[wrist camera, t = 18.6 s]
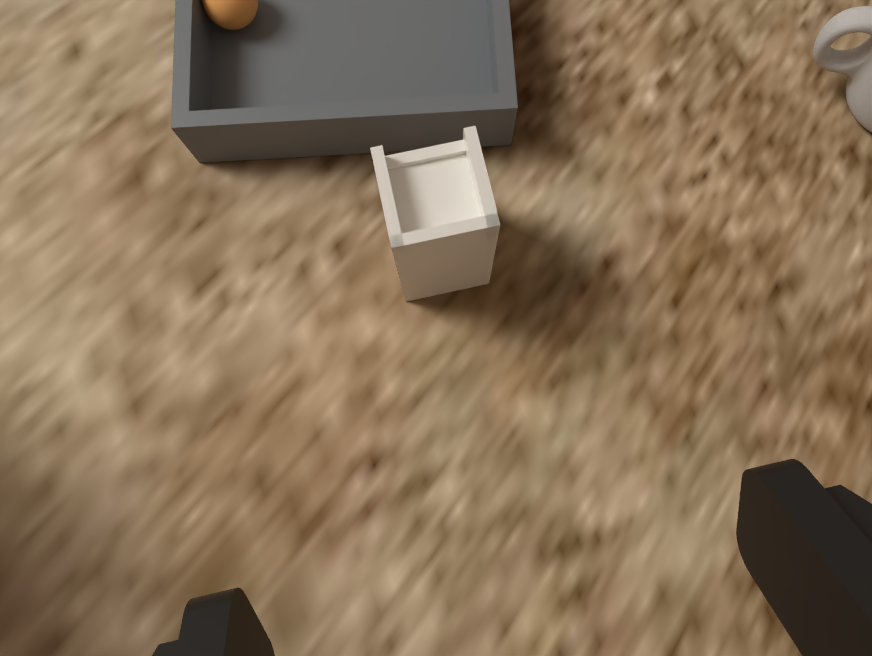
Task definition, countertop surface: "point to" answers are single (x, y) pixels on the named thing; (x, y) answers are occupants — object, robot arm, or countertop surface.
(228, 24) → the ball
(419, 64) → the tray
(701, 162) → the countertop surface
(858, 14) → the cup
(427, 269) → the open white crate
